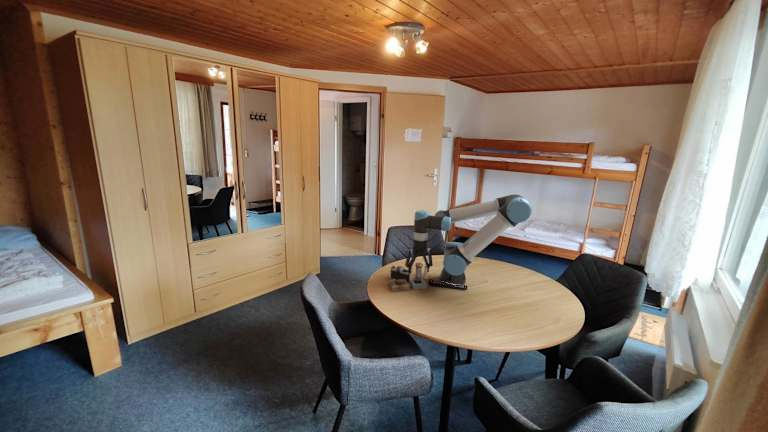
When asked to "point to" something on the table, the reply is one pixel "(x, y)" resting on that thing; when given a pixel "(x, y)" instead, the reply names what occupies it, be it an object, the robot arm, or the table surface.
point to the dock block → (399, 285)
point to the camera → (399, 273)
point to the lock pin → (418, 273)
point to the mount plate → (418, 286)
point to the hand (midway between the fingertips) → (418, 278)
